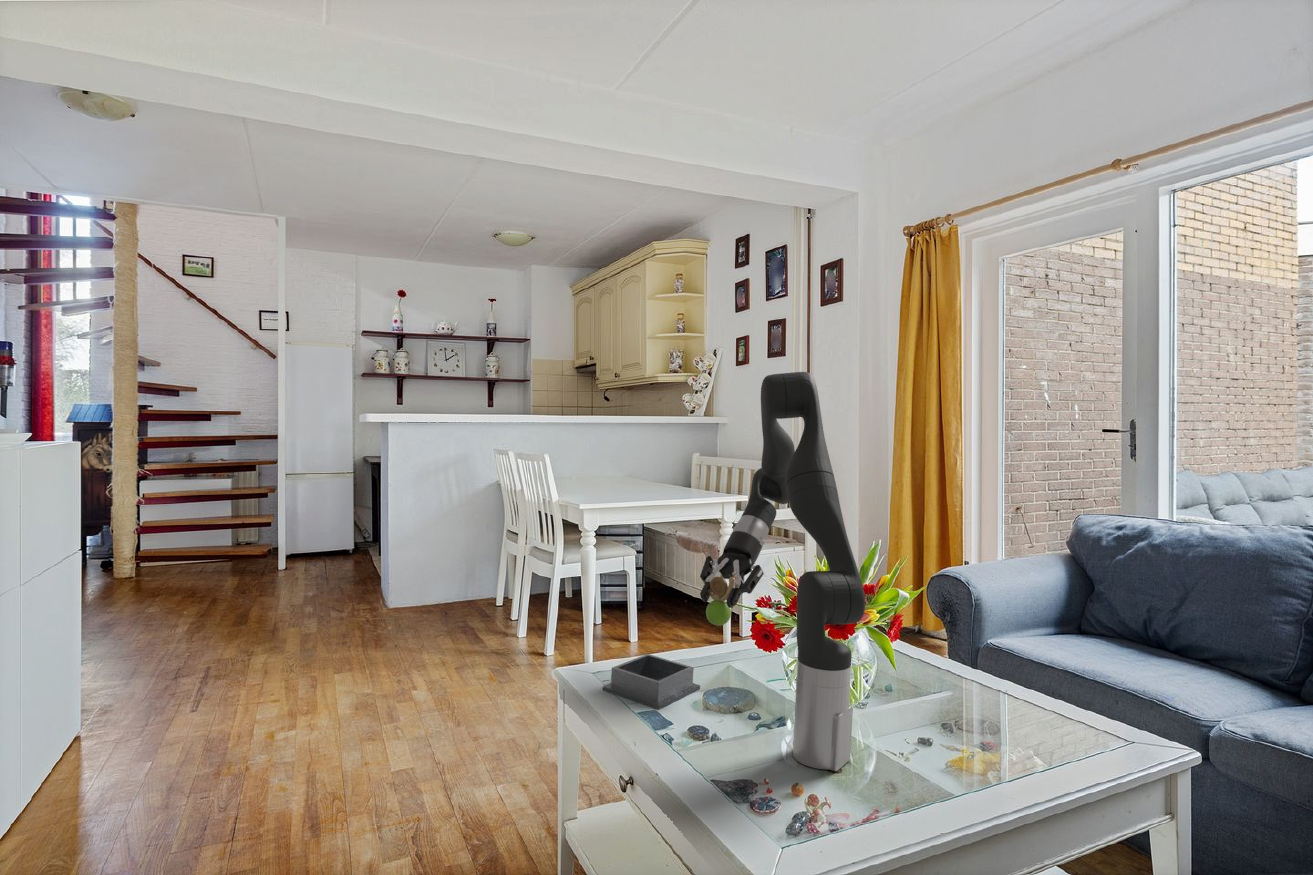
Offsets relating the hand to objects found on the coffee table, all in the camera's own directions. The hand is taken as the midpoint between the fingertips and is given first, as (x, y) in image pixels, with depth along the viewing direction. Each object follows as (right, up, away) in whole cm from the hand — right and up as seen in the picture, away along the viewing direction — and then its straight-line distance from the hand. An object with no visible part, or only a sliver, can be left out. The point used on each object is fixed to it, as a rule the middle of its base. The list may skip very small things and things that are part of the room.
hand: (716, 602), depth 157 cm
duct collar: (-14, -19, +3) cm, 24 cm away
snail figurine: (+1, -5, +2) cm, 6 cm away
